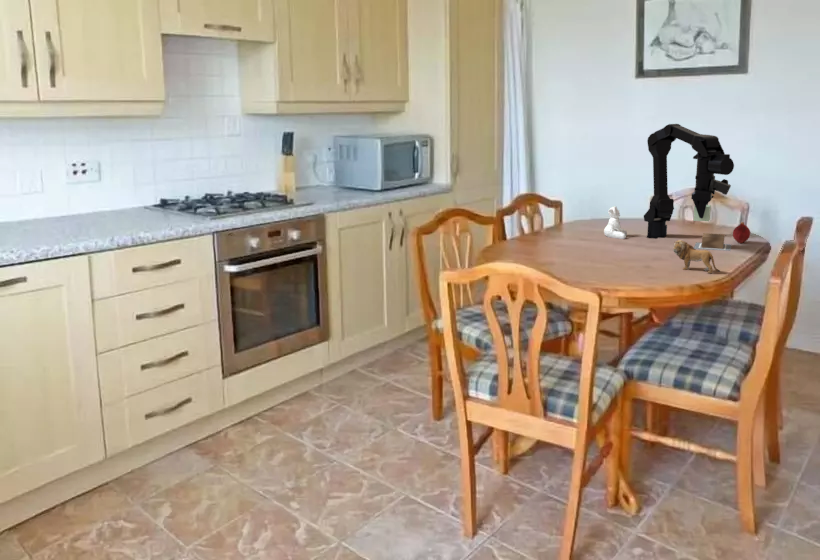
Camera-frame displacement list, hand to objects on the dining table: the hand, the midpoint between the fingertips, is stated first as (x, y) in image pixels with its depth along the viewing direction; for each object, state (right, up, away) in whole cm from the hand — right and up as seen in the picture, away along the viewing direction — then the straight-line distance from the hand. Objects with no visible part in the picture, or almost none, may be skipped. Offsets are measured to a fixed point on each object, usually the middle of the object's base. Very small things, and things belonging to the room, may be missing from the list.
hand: (702, 217), depth 255 cm
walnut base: (+5, -10, +3) cm, 12 cm away
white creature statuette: (-23, -6, +28) cm, 36 cm away
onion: (+17, -9, +8) cm, 21 cm away
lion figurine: (-15, -19, -29) cm, 38 cm away
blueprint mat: (+5, -11, +3) cm, 12 cm away
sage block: (0, -1, 0) cm, 1 cm away
